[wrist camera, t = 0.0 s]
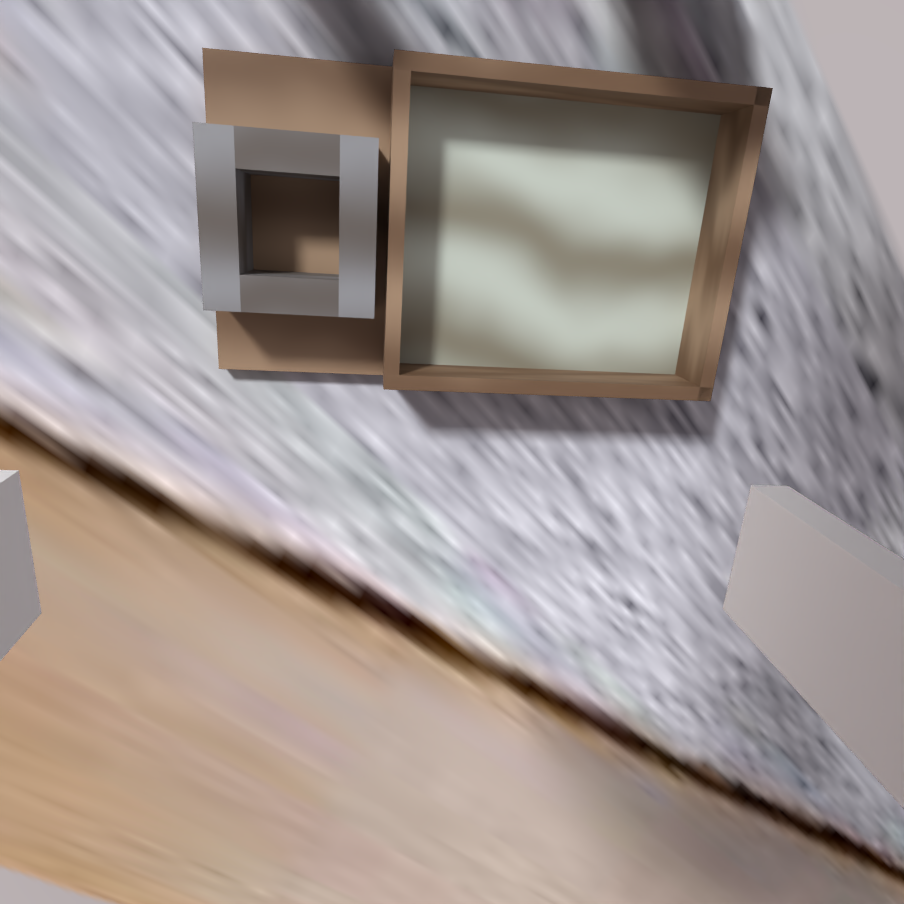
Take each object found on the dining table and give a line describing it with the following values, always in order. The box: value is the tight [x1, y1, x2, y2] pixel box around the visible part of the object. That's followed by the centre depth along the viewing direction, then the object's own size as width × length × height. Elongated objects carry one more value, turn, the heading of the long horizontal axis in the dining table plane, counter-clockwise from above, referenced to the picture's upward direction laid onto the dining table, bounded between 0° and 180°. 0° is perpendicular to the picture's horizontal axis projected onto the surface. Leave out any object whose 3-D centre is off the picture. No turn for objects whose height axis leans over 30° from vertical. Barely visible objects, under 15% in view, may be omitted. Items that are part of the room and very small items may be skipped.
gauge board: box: [192, 48, 773, 401], centre depth 35 cm, size 16×28×5 cm, turn 86°
